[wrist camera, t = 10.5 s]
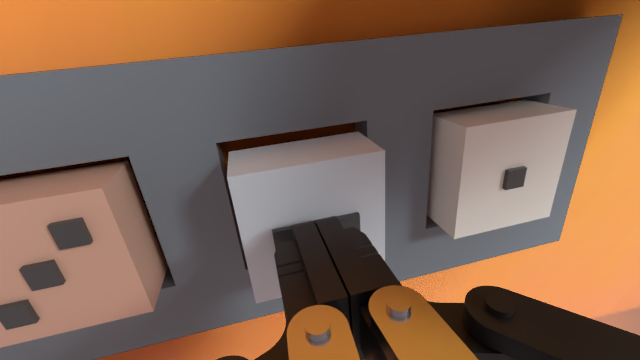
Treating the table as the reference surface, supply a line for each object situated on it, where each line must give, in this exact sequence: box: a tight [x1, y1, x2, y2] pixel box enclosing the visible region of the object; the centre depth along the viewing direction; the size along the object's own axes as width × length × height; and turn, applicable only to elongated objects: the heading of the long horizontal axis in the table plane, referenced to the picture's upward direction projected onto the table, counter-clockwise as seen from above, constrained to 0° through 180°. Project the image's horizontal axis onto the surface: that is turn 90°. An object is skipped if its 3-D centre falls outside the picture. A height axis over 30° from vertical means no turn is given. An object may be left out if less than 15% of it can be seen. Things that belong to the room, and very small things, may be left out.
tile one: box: [427, 100, 577, 239], centre depth 15 cm, size 5×5×3 cm
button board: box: [0, 14, 623, 360], centre depth 14 cm, size 30×12×2 cm, turn 96°
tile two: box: [227, 132, 385, 304], centre depth 12 cm, size 5×5×3 cm
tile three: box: [0, 160, 167, 348], centre depth 11 cm, size 5×5×3 cm
